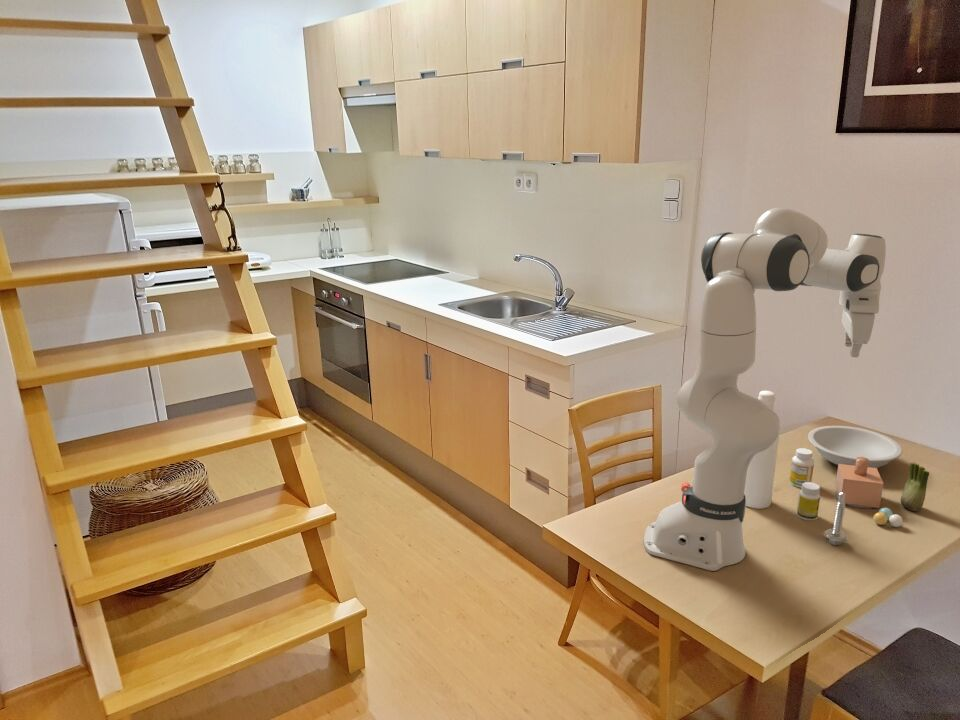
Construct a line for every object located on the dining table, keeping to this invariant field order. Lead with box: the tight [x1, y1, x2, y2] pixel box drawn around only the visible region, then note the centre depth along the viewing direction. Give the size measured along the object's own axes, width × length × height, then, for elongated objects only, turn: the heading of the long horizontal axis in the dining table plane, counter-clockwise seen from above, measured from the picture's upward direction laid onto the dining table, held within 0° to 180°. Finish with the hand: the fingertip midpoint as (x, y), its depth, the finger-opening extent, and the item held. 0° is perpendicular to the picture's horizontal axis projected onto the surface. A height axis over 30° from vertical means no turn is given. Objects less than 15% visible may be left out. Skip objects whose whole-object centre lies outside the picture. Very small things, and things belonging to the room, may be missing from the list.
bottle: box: [744, 390, 780, 510], centre depth 179 cm, size 8×8×30 cm
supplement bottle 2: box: [796, 481, 821, 521], centre depth 175 cm, size 5×5×8 cm
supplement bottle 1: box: [789, 447, 815, 489], centre depth 191 cm, size 5×5×10 cm
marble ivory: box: [888, 513, 904, 528], centre depth 171 cm, size 3×3×3 cm
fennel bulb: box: [900, 461, 930, 512], centre depth 178 cm, size 6×5×12 cm
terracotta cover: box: [834, 457, 884, 509], centre depth 182 cm, size 9×9×11 cm
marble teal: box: [878, 507, 893, 521], centre depth 174 cm, size 3×3×3 cm
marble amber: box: [873, 511, 889, 526], centre depth 172 cm, size 3×3×3 cm
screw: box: [823, 492, 849, 546], centre depth 163 cm, size 13×5×5 cm
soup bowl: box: [807, 425, 903, 469], centre depth 204 cm, size 24×24×7 cm
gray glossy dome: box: [834, 491, 875, 510], centre depth 184 cm, size 10×10×1 cm
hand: (851, 351), depth 182 cm, fingers open, 8 cm apart
